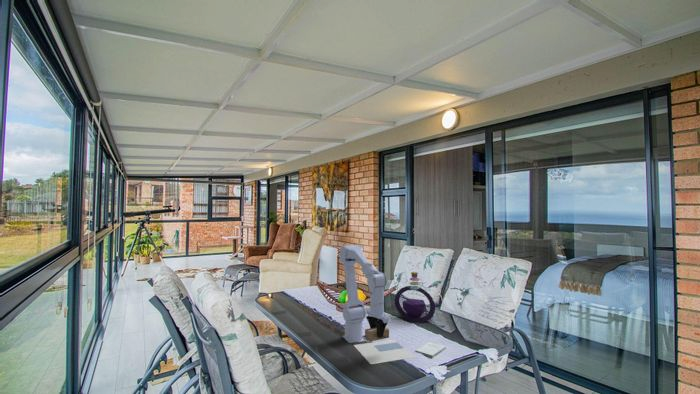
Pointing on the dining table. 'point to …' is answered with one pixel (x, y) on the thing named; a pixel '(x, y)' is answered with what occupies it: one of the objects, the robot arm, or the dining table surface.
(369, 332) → the cardboard box
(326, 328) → the dining table surface
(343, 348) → the dining table surface
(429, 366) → the dining table surface
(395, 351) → the mat
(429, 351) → the external hard drive
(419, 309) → the decorative bottle
